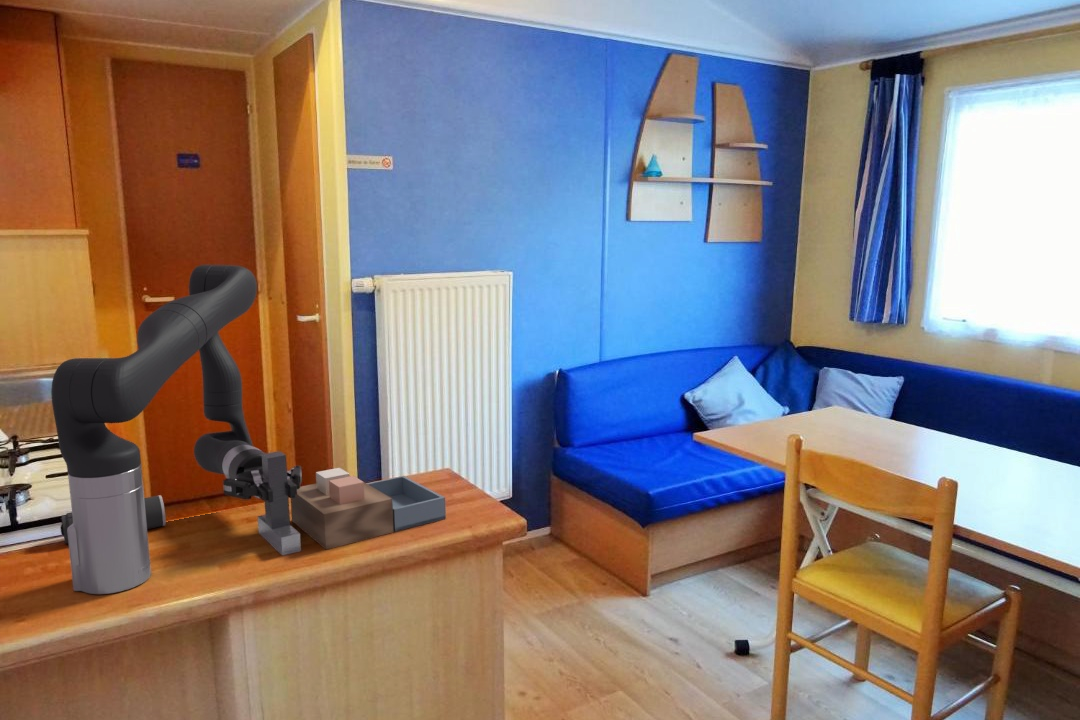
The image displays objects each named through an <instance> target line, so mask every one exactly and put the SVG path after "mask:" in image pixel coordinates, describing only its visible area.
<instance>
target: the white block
mask: <svg viewBox="0 0 1080 720" xmlns="http://www.w3.org/2000/svg"><path fill="white" fill-rule="evenodd" d="M350 476H351V475H350V473H349V472H348V471H346V470H344V469H342V467H336V468H335V467H334V468H332V469H331V468H330V469H326V470H319V471H316V472H315V481H316V482H315V484H316V485H317V489H318V490H320V491H321V492H322V493H324V494H325V495H329V494H330V492H329V481H330V480H335V479H340V478H345V477H350Z"/></svg>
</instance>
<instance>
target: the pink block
mask: <svg viewBox="0 0 1080 720" xmlns="http://www.w3.org/2000/svg"><path fill="white" fill-rule="evenodd" d="M359 479H360V478H358V477H356V476H355V477H354V475H350V477H345V478H340V479H335V480H330V481H329V492H330V498H331V499H333V500H334V501H336V502H337V503H339V504H344V503H349V502H353V501H358V500H362V499H365V497H364V482H365V481H363V480H361V479H360V480H359Z"/></svg>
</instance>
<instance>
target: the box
mask: <svg viewBox="0 0 1080 720" xmlns="http://www.w3.org/2000/svg"><path fill="white" fill-rule="evenodd" d="M367 484H368V485H370V486H372V487H373V488H375V489H377V490H378V491H380V492H382V493H383V494H385V495H387V496H389V497H390V498H392V503H393V531H394V532H399V531H403V530H404V531H405V530H407V529H412V528H415V527H419V526H422V525H427V524H430V523H434V522H438V521H439V522H440V521H442V520H445V519H447V517H446V516H447V515H446V497H445V496H443V495H441V494H439V493H438V492H436V491H433V490H431V488H428V487H426V486H424V485H422V484H421V483H418V482H417V481H415V480H413V479H411V478H409V477H407V476H405V475H401V476H395V477H391V478H386V479H381V480H377V481H373V482H372V481H371V482H367Z"/></svg>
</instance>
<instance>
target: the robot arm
mask: <svg viewBox="0 0 1080 720" xmlns="http://www.w3.org/2000/svg"><path fill="white" fill-rule="evenodd" d="M257 290H258V283H257V280H256V276H255V275H254V273H253V272H252V271H251V270H250V269H248V268H246V267H244V266H241V265H237V264H236V265H231V264H228V265H227V264H201V265H198V266H196V267H194V268H193V269H192V271H191V274H190V276H189V282H188V294H189V295H186V296H182V297H179V298H176V299H173V300H170V301H168V302H166V303H165V304H163V305H161V306H159V308H157V309H156V310H154V311H153V312H152V313H151V314H149V315H148V316H147V317H146V318H145V319H143V320H142V322H141V323H140V325H139V327H138V331H137V334H136V342H137V347H138V349H137V350H136V351H135V352H133V353H131V354H129V355H127V356H123V357H113V358H112V357H107V358H106V357H104V358H103V357H93V358H91V357H89V358H88V357H81V358H80V357H79V358H78V357H77V358H70V359H67V360H65V361H63V362H62V363H61V364H59V365H58V367H57V368H56V370H55V372H54V374H53V377H52V383H51V404H52V411H53V415H54V416H53V417H54V422H55V428H56V434H57V440H58V447H59V452H60V455H61V457H62V458H63V461H64V462H65V465H66V469H67V476H68V477H67V478H68V479H67V480H68V489H69V495H70V496H69V497H70V505H71V512H72V516H73V524H72V525H70V526H69V527H68V529H67V534H68V543H67V544H68V550H69V552H68V553H69V561H70V569H71V580H72V588H73V591H74V592H84V593H85V594H90V595H106V594H114V593H119V592H122V591H127V590H130V589H133V588H135V587H137V586H139V585H141V584H143V583H145V582H146V581H148V580H149V578H151V575H152V567H151V558H150V547H149V535H148V529H147V522H146V511H145V500H144V498H145V492H144V491H145V489H144V483H143V470H142V461H141V460H142V457H141V451H140V448H139V446H138V445H137V444H136V443H134V442H132V441H130V440H128V439H125V438H122V437H121V436H118V435H117V434H115V433H114V432H112V430H110V429H109V428H108V427H107V425H106V424H121V423H126V422H130V421H131V420H133V419H135V418H137V416H139V415H140V414H141V413H142V412H143V411H144V410H145V409H146V407H148V405H150V403H151V401H152V400H153V399H154V397H155V396H156V395H157V393H158V392H159V391H160V390H161V388H162V387H163V386H164V385H165V383H166V382H167V381H168V380H169V379H170V378H171V377H172V375H173V376H174V374H175V373H176V372H177V370H179V369H180V368H181V367H182V365H184V363H186V362H187V361H188V360H190V359H191V358H192V357H193V356H194V355H195V354H196V353H197V352H198V351H199V358H200V363H201V364H200V365H201V373H202V398H203V399H202V402H203V415H204V417H205V419H207V420H208V421H213V422H220V423H221V422H222V423H228V424H229V425H230V429H231V430H227V431H226V430H225V431H216V432H208V433H205V434H202V435H201V436H200V437H198V439H197V440H196V441H195V444H194V447H193V456H194V459H195V461H196V463H197V464H198V465H199V466H200V468H202V469H203V470H205V471H207V472H210V473H214V474H219V475H223V476H225V479H222V483H223V484H222V485H223V487H222V488H223V495H224V496H229V497H234V498H237V499H242V500H247V501H248V500H251V499H252V497H255V498H256V499H260V500H261V501H264V502H265V501H267V502H268V503H270V502H273V490H272V489H271V488H270V487H268V486H267V485H266V484H263V469H262V454H266V452H264V451H262V450H261V449H259V448H258V447H255V446H254V445H253V441H252V438H251V435H250V433H249V429H248V427H247V424H246V423H247V422H246V420H245V415H244V414H245V413H244V409H243V408H244V407H243V381H242V375H241V371H240V369H239V367H238V365H237V363H236V361H235V360H234V358H233V356H232V355H231V352H229V350H228V349H227V347H226V346H225V344H224V342H223V340H222V337H221V336H220V333H219V332H220V331H221V330H222V329H223V328H224V327H226V326H227V325H228V324H230V323H232V321H234V320H235V319H237V318H239V317H241V316H242V315H244V314H245V313H246V312H248V311H249V309H250V308H251V307H252V306H253V304H254V302H255V300H256V297H257V293H258V291H257ZM302 475H303V474H302V466H301V465H294V466H293V468H290V470H287V479H288V484H287V485H288V497H289V499H291V498H294V497H295V494H297V489H300V487H301V484H302V477H303V476H302Z"/></svg>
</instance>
